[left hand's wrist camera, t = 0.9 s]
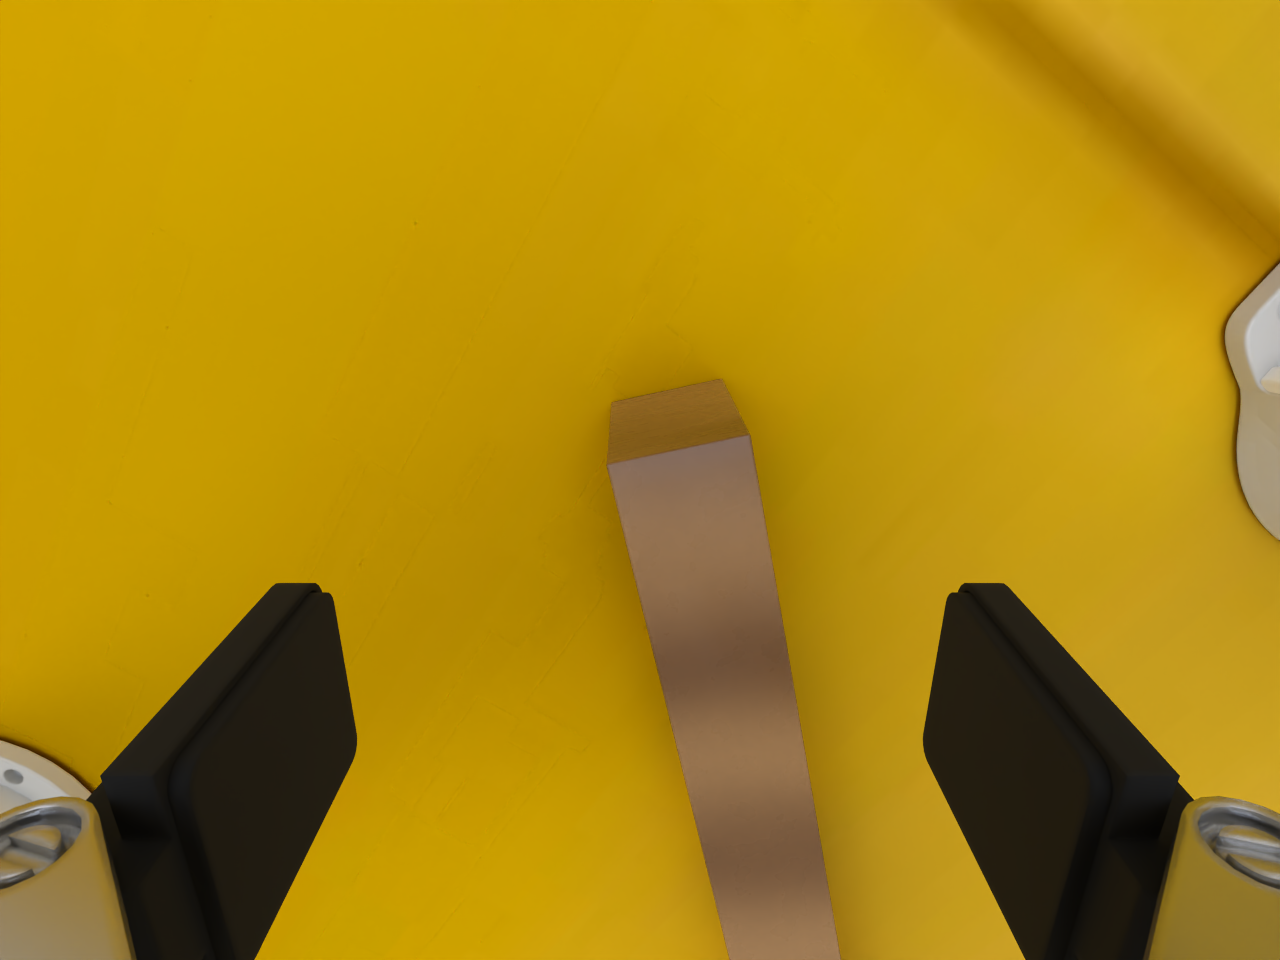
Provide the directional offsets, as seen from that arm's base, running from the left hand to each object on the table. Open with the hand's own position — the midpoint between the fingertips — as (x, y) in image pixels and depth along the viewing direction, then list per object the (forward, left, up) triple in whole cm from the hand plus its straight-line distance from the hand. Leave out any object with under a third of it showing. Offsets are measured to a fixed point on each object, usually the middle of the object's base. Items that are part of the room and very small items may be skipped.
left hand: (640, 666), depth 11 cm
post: (-19, -22, -20) cm, 35 cm away
